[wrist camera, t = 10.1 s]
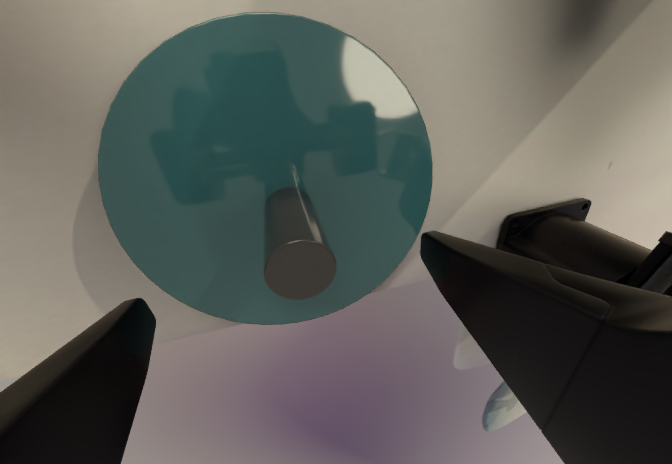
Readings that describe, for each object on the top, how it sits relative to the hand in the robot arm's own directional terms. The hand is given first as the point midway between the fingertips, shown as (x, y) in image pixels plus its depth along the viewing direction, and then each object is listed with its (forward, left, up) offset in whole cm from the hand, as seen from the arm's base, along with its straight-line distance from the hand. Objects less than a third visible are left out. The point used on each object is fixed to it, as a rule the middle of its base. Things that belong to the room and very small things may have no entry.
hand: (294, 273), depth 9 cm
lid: (0, 0, -6) cm, 6 cm away
